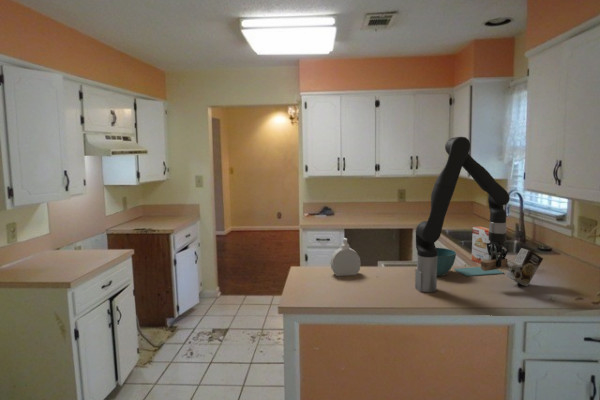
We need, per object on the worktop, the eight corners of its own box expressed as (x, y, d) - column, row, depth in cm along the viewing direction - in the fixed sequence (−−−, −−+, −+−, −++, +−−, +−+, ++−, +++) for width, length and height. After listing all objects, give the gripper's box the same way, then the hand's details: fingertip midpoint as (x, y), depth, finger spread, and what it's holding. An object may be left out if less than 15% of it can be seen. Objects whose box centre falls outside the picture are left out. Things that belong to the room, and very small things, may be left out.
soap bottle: (358, 271, 222) (358, 237, 219) (360, 274, 217) (360, 239, 214) (330, 273, 220) (329, 238, 217) (332, 276, 215) (331, 240, 212)
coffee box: (514, 279, 191) (530, 250, 190) (505, 275, 197) (520, 247, 197) (527, 287, 193) (544, 258, 193) (518, 283, 199) (533, 254, 199)
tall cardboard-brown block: (487, 272, 188) (487, 264, 187) (478, 268, 195) (478, 260, 194) (521, 266, 190) (521, 258, 190) (512, 262, 197) (511, 254, 197)
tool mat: (465, 276, 210) (466, 275, 210) (454, 269, 222) (454, 268, 222) (503, 273, 213) (503, 272, 213) (490, 267, 225) (490, 266, 225)
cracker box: (470, 260, 239) (472, 226, 236) (479, 259, 241) (480, 225, 238) (488, 267, 226) (489, 231, 223) (496, 265, 228) (498, 230, 225)
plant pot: (413, 272, 218) (413, 251, 217) (432, 266, 229) (433, 245, 228) (442, 281, 204) (443, 258, 202) (461, 273, 215) (462, 251, 213)
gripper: (481, 228, 196) (480, 262, 198) (499, 234, 182) (498, 270, 185) (495, 227, 197) (494, 261, 199) (514, 233, 183) (512, 269, 186)
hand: (496, 265), depth 192 cm, fingers closed on tall cardboard-brown block, 3 cm apart
